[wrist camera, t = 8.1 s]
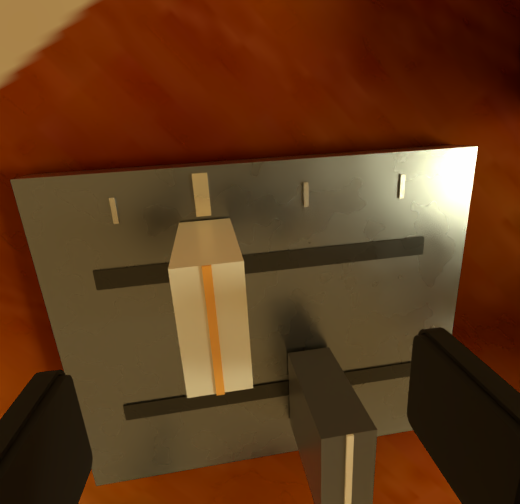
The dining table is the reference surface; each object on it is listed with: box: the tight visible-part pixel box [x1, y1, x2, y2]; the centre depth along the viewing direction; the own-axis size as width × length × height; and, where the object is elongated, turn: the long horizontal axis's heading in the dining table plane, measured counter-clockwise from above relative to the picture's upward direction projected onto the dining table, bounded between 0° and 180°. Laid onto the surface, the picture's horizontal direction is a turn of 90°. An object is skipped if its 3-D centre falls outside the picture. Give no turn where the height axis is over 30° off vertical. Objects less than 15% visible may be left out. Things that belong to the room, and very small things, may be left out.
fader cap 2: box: [288, 347, 377, 504], centre depth 18 cm, size 2×5×6 cm, turn 3°
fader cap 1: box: [168, 218, 253, 398], centre depth 15 cm, size 2×5×6 cm, turn 3°
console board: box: [10, 145, 478, 486], centre depth 21 cm, size 22×18×2 cm
